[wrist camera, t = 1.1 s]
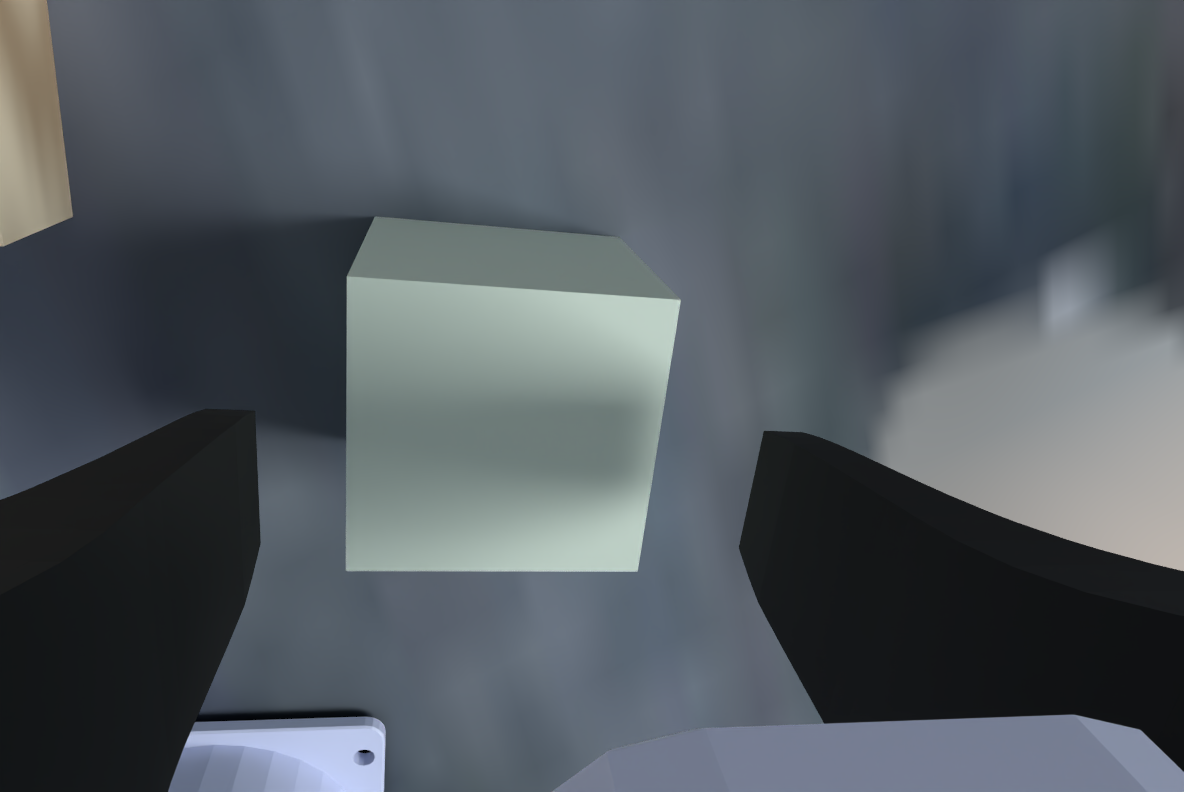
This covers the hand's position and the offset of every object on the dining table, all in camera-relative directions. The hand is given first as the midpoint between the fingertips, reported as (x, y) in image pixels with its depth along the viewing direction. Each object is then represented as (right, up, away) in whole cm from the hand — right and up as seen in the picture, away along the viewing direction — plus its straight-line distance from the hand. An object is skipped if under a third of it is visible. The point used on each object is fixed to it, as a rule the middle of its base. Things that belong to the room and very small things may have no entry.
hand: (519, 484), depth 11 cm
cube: (-1, +2, +6) cm, 7 cm away
